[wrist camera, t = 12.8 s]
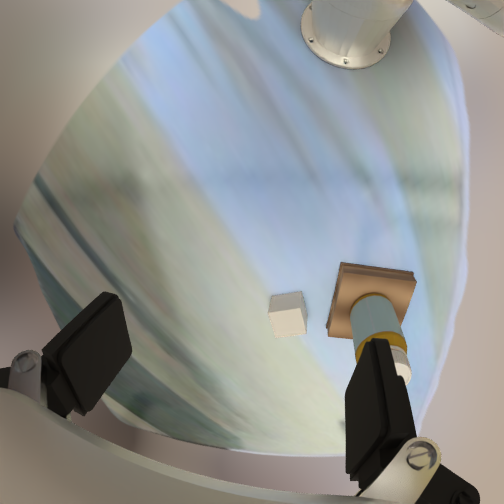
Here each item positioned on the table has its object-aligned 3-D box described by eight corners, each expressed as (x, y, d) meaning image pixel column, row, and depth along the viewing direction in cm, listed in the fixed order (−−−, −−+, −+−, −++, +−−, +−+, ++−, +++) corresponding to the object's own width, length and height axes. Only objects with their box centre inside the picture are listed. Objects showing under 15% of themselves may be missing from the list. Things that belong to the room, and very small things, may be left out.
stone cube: (272, 295, 48) (267, 312, 43) (301, 290, 47) (300, 308, 42) (279, 319, 50) (275, 337, 45) (307, 315, 48) (306, 333, 44)
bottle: (397, 316, 42) (420, 384, 28) (359, 334, 44) (370, 405, 31) (382, 283, 40) (406, 350, 27) (342, 304, 43) (349, 375, 29)
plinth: (340, 262, 43) (342, 271, 41) (412, 271, 41) (418, 280, 39) (326, 326, 48) (326, 337, 46) (391, 332, 46) (394, 343, 44)
